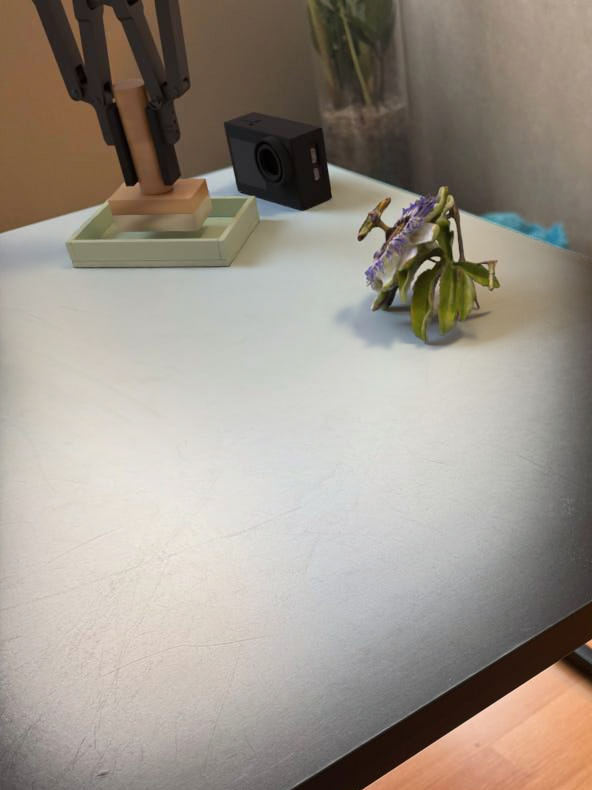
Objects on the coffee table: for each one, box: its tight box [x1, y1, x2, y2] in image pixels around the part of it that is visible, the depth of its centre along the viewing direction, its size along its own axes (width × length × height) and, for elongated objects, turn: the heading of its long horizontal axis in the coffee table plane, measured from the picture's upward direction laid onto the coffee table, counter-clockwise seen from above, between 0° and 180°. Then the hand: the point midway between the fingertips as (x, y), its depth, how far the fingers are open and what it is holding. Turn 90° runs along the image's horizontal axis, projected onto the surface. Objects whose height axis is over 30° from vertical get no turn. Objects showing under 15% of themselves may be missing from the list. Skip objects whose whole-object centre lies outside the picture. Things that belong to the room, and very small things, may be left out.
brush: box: [107, 78, 213, 232], centre depth 93 cm, size 8×5×12 cm, turn 85°
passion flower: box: [356, 185, 501, 345], centre depth 82 cm, size 11×11×12 cm
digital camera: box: [223, 111, 333, 211], centre depth 104 cm, size 10×5×7 cm, turn 50°
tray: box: [64, 195, 261, 268], centre depth 97 cm, size 15×11×2 cm
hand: (153, 180), depth 94 cm, fingers closed on brush, 3 cm apart
